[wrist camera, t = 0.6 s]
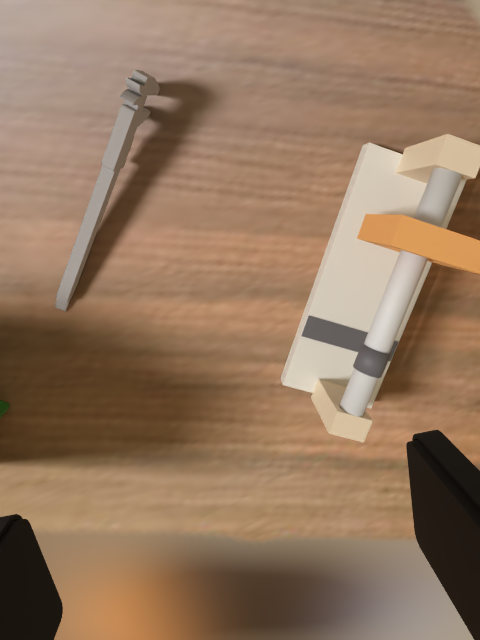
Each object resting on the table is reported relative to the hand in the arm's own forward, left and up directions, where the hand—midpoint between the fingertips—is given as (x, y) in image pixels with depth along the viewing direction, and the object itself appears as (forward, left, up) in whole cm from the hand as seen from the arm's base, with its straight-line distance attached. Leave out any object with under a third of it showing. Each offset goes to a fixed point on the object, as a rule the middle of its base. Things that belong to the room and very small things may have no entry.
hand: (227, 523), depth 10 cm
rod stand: (-5, +12, -29) cm, 31 cm away
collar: (-9, +12, -25) cm, 29 cm away
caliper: (-5, -12, -29) cm, 32 cm away
